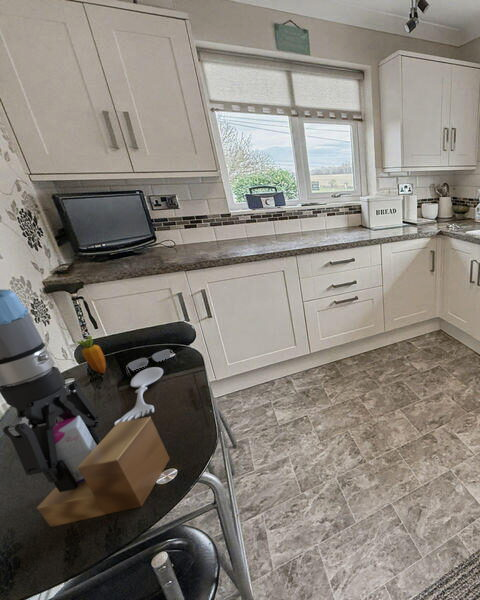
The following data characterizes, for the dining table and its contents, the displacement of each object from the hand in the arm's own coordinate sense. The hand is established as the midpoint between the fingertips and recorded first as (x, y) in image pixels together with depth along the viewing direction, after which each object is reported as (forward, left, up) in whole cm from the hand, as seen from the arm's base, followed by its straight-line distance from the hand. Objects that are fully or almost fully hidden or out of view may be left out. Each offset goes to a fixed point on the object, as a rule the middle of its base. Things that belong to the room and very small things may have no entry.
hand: (84, 471), depth 66 cm
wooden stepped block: (+3, 0, -6) cm, 7 cm away
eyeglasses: (-16, +56, -7) cm, 59 cm away
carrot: (-34, +58, -7) cm, 67 cm away
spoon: (-9, +36, -7) cm, 38 cm away
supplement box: (0, 0, 0) cm, 0 cm away
